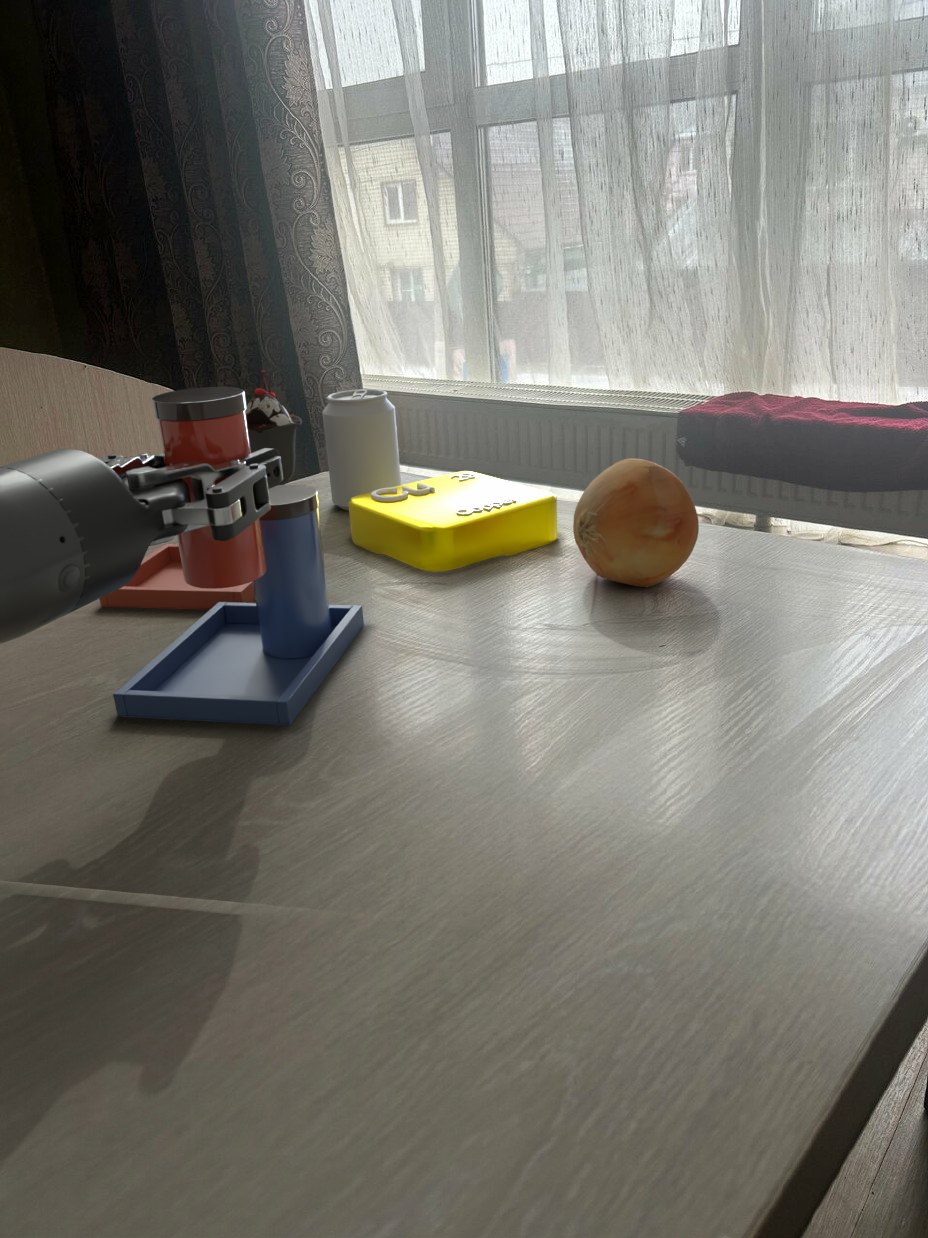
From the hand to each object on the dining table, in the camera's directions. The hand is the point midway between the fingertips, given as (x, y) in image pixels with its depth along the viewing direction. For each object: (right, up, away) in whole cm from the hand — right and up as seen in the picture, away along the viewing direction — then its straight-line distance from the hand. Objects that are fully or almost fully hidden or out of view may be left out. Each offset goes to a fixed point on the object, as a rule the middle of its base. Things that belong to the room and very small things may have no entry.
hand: (236, 462), depth 59 cm
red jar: (-1, -7, 0) cm, 7 cm away
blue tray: (0, -13, +7) cm, 15 cm away
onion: (+28, -7, +19) cm, 34 cm away
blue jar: (+2, -11, +10) cm, 15 cm away
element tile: (+13, -3, +31) cm, 34 cm away
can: (+4, +2, +45) cm, 45 cm away
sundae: (-5, +1, +42) cm, 42 cm away
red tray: (-8, -7, +23) cm, 25 cm away
